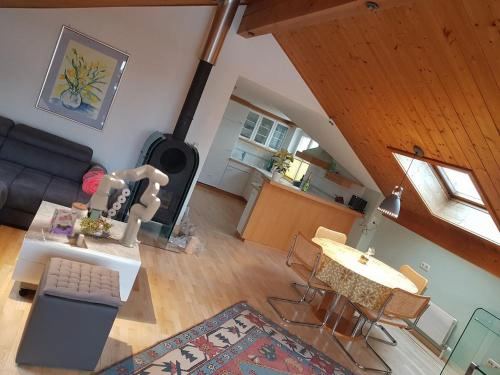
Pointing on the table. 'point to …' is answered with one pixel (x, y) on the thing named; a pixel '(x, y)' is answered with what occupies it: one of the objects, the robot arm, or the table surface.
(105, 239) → the table surface
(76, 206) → the lidded bowl
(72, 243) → the walnut board
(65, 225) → the candy box
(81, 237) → the cream post
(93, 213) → the mint green cube
